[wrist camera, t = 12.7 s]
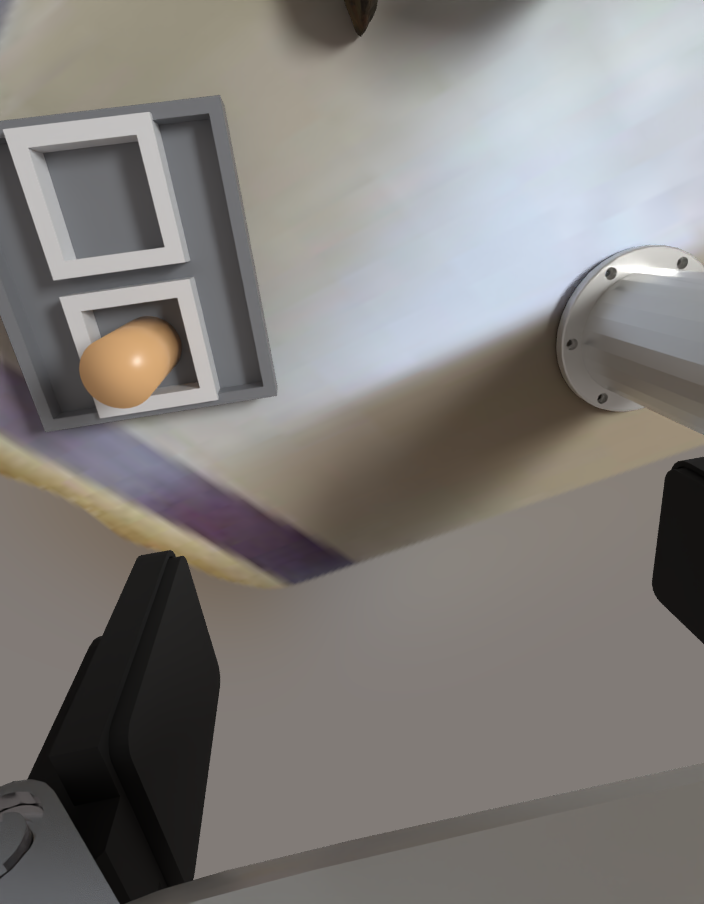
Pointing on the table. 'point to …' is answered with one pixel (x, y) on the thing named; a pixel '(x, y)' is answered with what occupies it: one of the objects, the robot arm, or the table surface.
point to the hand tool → (361, 13)
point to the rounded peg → (130, 362)
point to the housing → (129, 254)
